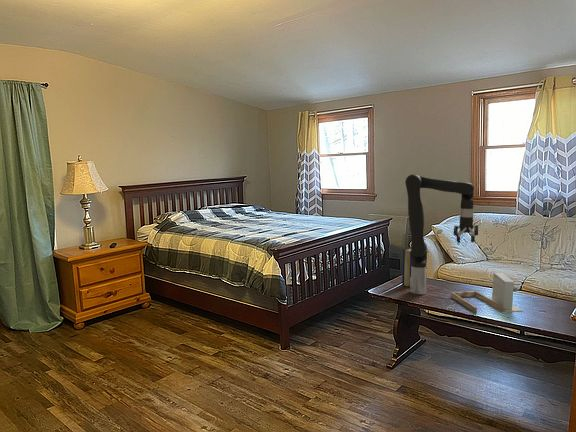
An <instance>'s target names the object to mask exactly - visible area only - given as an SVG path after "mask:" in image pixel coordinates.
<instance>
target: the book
mask: <svg viewBox="0 0 576 432" xmlns="http://www.w3.org/2000/svg"><path fill="white" fill-rule="evenodd" d="M411 261H412V252H411V247H408V248H404V249H403V250H402V274H401V275H402V277H401V281H402V282H401V285H402V286H404V287H410V277H411Z"/></svg>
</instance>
